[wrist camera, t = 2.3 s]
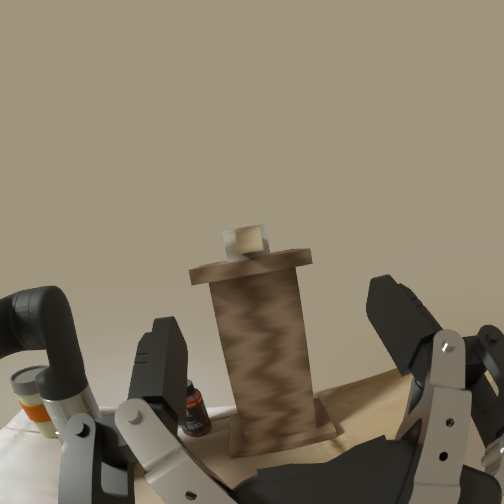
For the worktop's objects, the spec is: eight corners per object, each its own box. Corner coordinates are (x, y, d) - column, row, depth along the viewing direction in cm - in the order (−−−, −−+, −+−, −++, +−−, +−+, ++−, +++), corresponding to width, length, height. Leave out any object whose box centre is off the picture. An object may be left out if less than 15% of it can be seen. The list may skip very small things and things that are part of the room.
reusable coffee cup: (63, 445, 33) (33, 385, 33) (27, 437, 32) (0, 381, 32) (84, 419, 46) (62, 365, 46) (50, 414, 45) (28, 364, 45)
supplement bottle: (205, 418, 49) (192, 373, 48) (216, 431, 43) (202, 384, 43) (179, 426, 46) (163, 381, 46) (188, 440, 40) (170, 393, 40)
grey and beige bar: (221, 267, 26) (213, 222, 26) (229, 260, 45) (225, 234, 45) (284, 256, 26) (275, 211, 26) (265, 254, 45) (261, 227, 45)
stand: (230, 458, 35) (181, 271, 34) (231, 420, 47) (196, 266, 46) (336, 436, 36) (317, 247, 35) (319, 403, 48) (298, 248, 47)
